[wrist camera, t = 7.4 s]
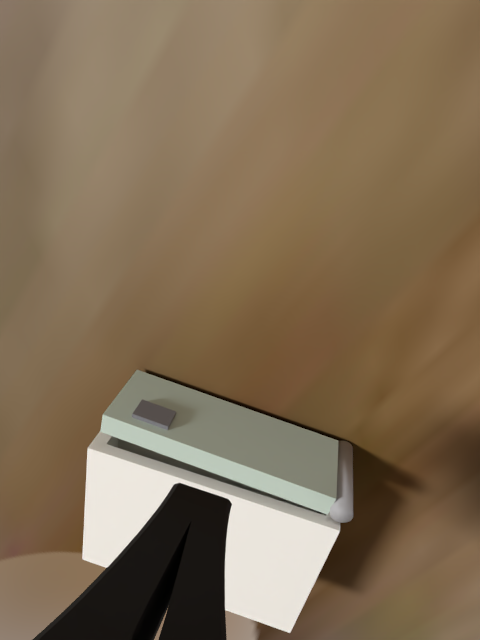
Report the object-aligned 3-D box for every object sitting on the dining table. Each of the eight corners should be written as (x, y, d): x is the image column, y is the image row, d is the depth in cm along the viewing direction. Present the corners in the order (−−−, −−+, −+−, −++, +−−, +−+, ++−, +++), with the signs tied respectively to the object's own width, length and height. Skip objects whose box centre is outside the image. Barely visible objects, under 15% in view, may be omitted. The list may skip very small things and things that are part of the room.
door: (348, 458, 21) (347, 526, 18) (136, 383, 22) (98, 434, 19) (357, 440, 21) (359, 507, 17) (139, 364, 21) (100, 414, 18)
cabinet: (298, 558, 25) (289, 632, 22) (117, 497, 26) (82, 559, 23) (341, 459, 22) (340, 530, 18) (128, 392, 23) (87, 448, 19)
